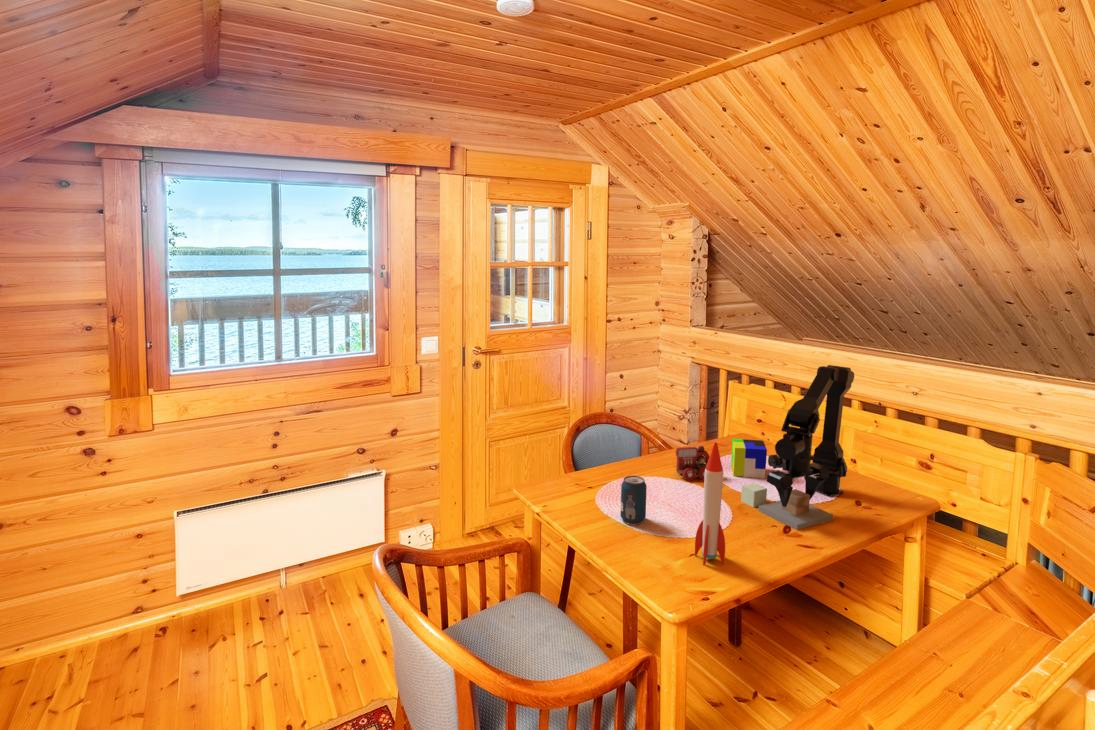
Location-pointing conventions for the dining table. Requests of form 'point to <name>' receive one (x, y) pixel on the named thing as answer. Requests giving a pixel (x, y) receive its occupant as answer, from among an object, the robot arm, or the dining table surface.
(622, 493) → the soda can
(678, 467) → the toy fire truck
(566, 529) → the dining table surface
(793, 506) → the walnut cube
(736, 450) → the puzzle toy
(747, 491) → the sage cube
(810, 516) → the base board
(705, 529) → the toy rocket
